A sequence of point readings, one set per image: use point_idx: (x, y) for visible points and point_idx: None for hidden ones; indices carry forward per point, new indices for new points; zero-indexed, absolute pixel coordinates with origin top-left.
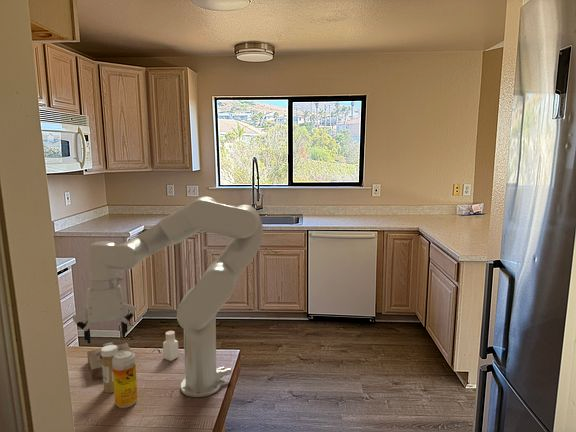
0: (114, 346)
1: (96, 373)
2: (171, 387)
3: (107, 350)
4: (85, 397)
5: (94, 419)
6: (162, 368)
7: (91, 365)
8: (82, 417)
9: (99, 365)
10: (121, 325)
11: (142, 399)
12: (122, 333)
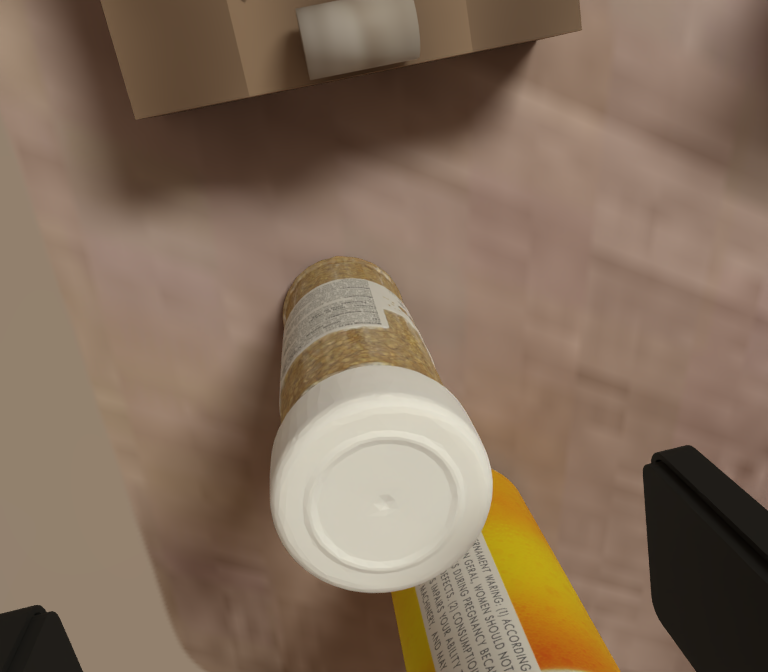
0: (461, 486)
1: (189, 109)
2: (749, 424)
3: (369, 577)
4: (154, 367)
5: (265, 628)
6: (759, 104)
7: (112, 13)
8: (186, 593)
9: (207, 51)
10: (755, 614)
11: (550, 508)
12: (672, 594)
